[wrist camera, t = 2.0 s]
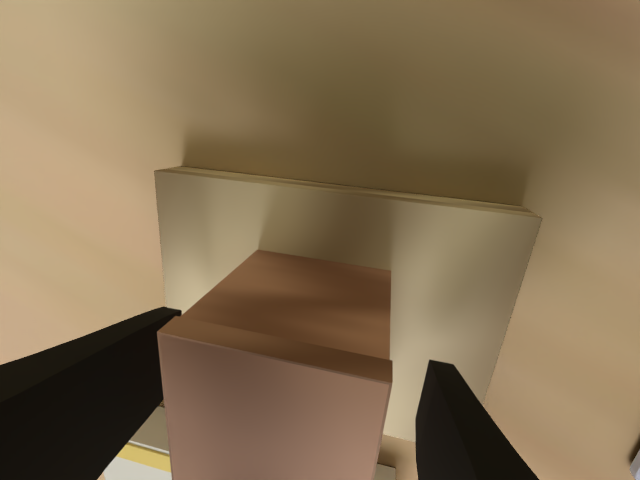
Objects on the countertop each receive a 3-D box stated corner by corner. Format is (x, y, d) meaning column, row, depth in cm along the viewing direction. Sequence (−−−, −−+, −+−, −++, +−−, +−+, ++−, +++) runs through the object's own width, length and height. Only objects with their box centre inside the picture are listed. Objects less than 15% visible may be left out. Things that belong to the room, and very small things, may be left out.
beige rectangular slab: (522, 206, 10) (542, 218, 9) (459, 420, 13) (466, 454, 12) (181, 166, 12) (154, 170, 11) (192, 359, 15) (172, 382, 14)
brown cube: (393, 269, 10) (392, 382, 6) (373, 384, 12) (360, 548, 7) (256, 247, 11) (157, 332, 6) (254, 358, 13) (172, 490, 8)
